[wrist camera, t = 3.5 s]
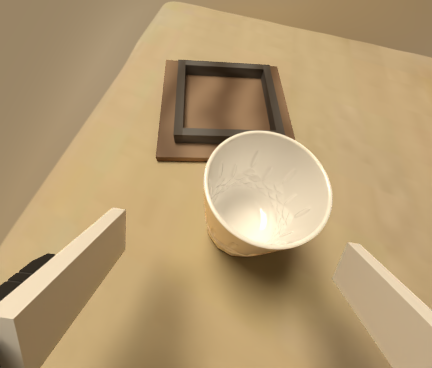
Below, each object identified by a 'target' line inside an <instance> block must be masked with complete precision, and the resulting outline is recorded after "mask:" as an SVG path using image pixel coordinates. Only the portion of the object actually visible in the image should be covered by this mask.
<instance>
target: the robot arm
mask: <svg viewBox="0 0 432 368" xmlns="http://www.w3.org/2000/svg"><path fill="white" fill-rule="evenodd" d="M125 231H126V209H119V208H111V209H110V210H109V211H108V212H106V213H105V214H104V215H103V216H102V217H101V218H99V219H98V220H97V221H96V222H95V223H93V224H92V225H91V226H90V227H89V228H87V229H86V230H85V231H84V232H83V233H81V234H80V235H79V236H78V237H77V238H75V239H74V240H73V241H72V242H71V243H69V244H68V245H67V246H66V247H65V248H63V249H62V250H61V251H60V252H59V253H58V254H56V255H55V254H46V255H44V256H42V257H40V258H38V259H35V260H33V261H32V262H30V263H29V264H28V265H26V266H25V267H24V268H23V269H21V270H20V271H19V273H16V274H15V275H13V276H12V277H11V278H9V279H8V281H7V282H4V283H3V284H2V285H0V368H40V367H41V366H42V364H43V363H44V361H45V360H46V359H47V357H48V356H49V355H50V353H51V352H52V350H53V349H54V348H55V346H56V345H57V343H58V342H59V341H60V339H61V338H62V337H63V335H64V334H65V332H66V331H67V330H68V328H69V327H70V325H71V324H72V323H73V321H74V320H75V318H76V317H77V316H78V314H79V313H80V312H81V310H82V309H83V307H84V306H85V305H86V303H87V302H88V300H89V299H90V298H91V296H92V295H93V294H94V292H95V291H96V289H97V288H98V287H99V285H100V284H101V282H102V281H103V280H104V278H105V277H106V275H107V274H108V273H109V271H110V270H111V269H112V267H113V266H114V264H115V263H116V262H117V260H118V259H119V257H120V256H121V255H122V253H123V252H124V251H125ZM332 280H333V281H334V283H335V284H336V286H337V287H338V289H339V290H340V292H341V293H342V295H343V296H344V298H345V299H346V300H347V302H348V303H349V305H350V306H351V308H352V309H353V311H354V312H355V314H356V315H357V317H358V318H359V320H360V321H361V323H362V324H363V325H364V327H365V328H366V330H367V331H368V333H369V334H370V336H371V337H372V339H373V340H374V342H375V343H376V345H377V346H378V348H379V349H380V350H381V352H382V353H383V355H384V356H385V358H386V359H387V361H388V362H389V364H390V365H391V367H392V368H432V310H431V309H430V308H429V307H428V306H427V305H425V304H424V303H423V302H422V301H421V300H420V299H419V298H418V297H417V296H416V295H415V294H413V293H412V292H411V291H410V290H409V289H408V288H407V287H406V286H405V285H404V284H403V283H402V282H400V281H399V280H398V279H397V278H396V277H395V276H394V275H393V274H392V273H391V272H390V271H389V270H387V269H386V268H385V267H384V266H383V265H382V264H381V263H380V262H379V261H378V260H377V259H376V258H374V257H373V256H372V255H371V254H370V253H369V252H368V251H367V250H366V249H365V248H364V247H362V246H361V245H360V244H356V243H349V242H347V244H346V246H345V249H344V251H343V253H342V256H341V258H340V261H339V263H338V265H337V268H336V270H335V272H334V275H333V277H332Z"/></svg>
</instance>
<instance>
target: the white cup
mask: <svg viewBox="0 0 432 368" xmlns="http://www.w3.org/2000/svg"><path fill="white" fill-rule="evenodd" d="M332 200H333V198H332V188H331V184H330V181H329V178H328V176H327V173H326V171H325V169H324V168H323V166H322V165H321V163H320V162H319V160H318V159H317V158H316V157H315V156H314V155H313V154H312V153H311V152H310V151H309V150H308V149H307V148H306V147H304V146H303V145H302V144H300V143H299V142H297V141H295V140H294V139H292V138H290V137H287V136H285V135H282V134H279V133H275V132H270V131H247V132H242V133H239V134H236V135H234V136H232V137H230V138H228V139H226V140H225V141H223V142H222V143H221V144H220V145H219V146H218V147H217V148H216V149H215V150H214V151H213V153H212V154H211V156H210V157H209V159H208V162H207V164H206V167H205V172H204V209H205V218H206V224H207V228H208V234H209V236H210V238H211V239H212V241H213V242H214V243H215V245H216V246H217V248H219V249H220V250H222V251H224V252H226V253H227V254H229V255H231V256H243V257H247V256H256V255H263V254H268V253H272V252H276V251H281V250H285V249H290V248H294V247H298V246H300V245H303V244H305V243H307V242H309V241H310V240H312V239H313V238H314V237H316V236H317V235H318V234H319V233H320V232H321V230H322V229H323V228H324V226H325V225H326V223H327V221H328V219H329V216H330V213H331V209H332Z"/></svg>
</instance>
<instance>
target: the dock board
mask: <svg viewBox="0 0 432 368" xmlns="http://www.w3.org/2000/svg"><path fill="white" fill-rule="evenodd" d="M247 131H270V132H275V133H279V134H282V135H285V136H287V137H290V138H292V139H294V140H295V137H294V133H293V129H292V125H291V121H290V117H289V113H288V109H287V105H286V101H285V97H284V93H283V89H282V85H281V81H280V77H279V73H278V69H277V67H275V66H270V65H260V64H243V63H226V62H209V61H192V60H178V61H173V60H166V67H165V76H164V85H163V95H162V104H161V113H160V123H159V132H158V141H157V151H156V159H157V161H208V159H209V157H210V156H211V154H212V153H213V151H214V150H215V149H216V148H217V147H218V146H219V145H220V144H221V143H222V142H223V141H225V140H226V139H228V138H230V137H232V136H234V135H236V134H239V133H242V132H247Z"/></svg>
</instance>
